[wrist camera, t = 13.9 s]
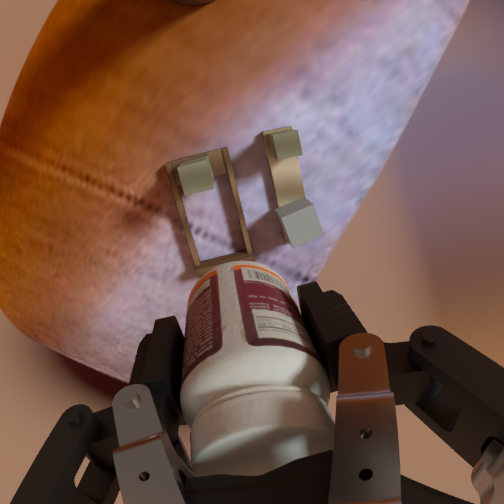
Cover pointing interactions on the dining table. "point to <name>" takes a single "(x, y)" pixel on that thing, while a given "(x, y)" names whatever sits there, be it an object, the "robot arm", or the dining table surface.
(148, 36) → the dining table surface
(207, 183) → the open wooden frame
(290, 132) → the birch slat
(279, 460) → the pill bottle
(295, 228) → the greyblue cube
